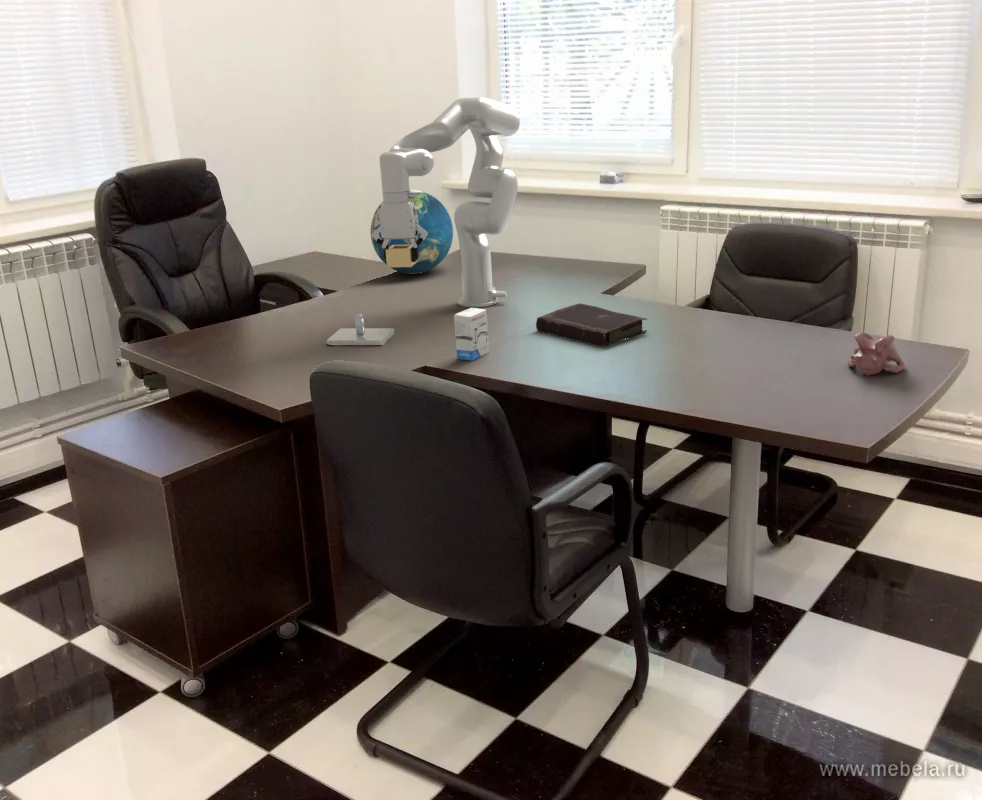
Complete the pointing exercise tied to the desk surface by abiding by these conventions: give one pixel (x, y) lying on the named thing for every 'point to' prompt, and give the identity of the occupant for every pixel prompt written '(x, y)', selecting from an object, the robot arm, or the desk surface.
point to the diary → (590, 324)
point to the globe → (431, 220)
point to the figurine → (875, 354)
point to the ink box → (471, 334)
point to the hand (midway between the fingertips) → (402, 260)
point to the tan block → (399, 256)
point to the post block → (361, 334)
